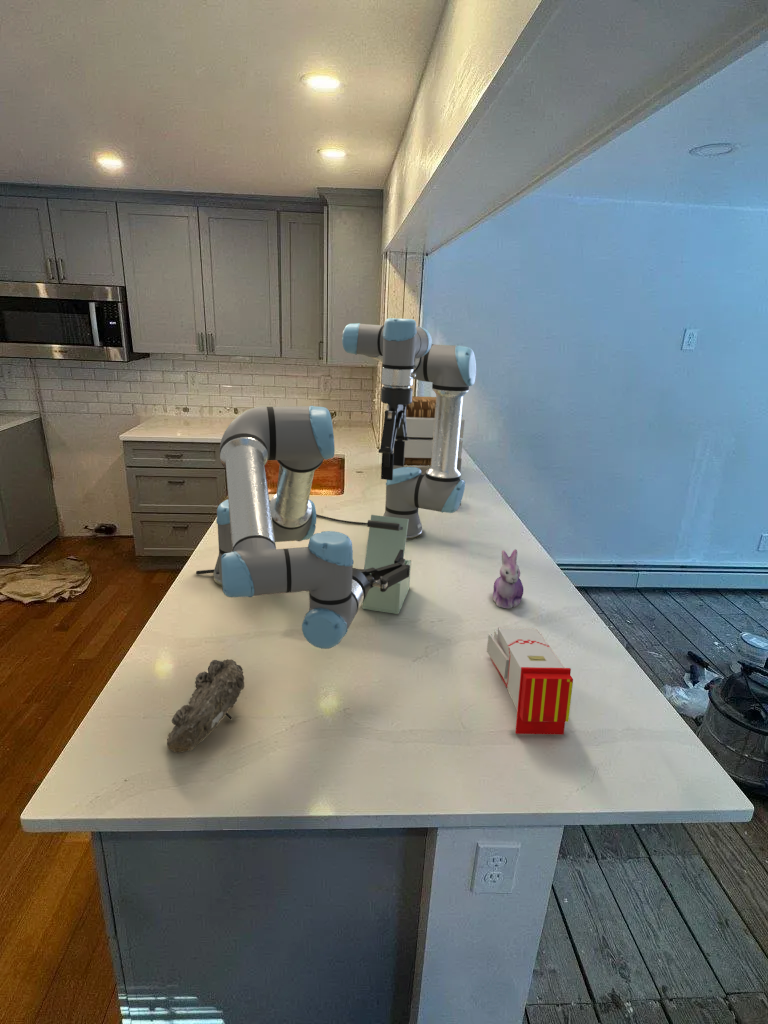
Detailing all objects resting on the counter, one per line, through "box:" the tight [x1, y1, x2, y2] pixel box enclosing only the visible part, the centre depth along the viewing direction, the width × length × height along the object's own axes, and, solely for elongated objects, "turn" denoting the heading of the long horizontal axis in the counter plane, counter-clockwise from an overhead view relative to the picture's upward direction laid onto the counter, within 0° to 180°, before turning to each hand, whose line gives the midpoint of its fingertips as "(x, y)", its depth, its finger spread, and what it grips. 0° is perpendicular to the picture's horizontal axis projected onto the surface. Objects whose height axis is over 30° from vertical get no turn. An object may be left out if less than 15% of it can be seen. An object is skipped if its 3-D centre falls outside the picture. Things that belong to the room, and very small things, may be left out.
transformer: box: [386, 395, 465, 473], centre depth 268 cm, size 34×33×41 cm
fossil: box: [166, 658, 245, 754], centre depth 106 cm, size 22×10×15 cm
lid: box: [363, 514, 409, 582], centre depth 142 cm, size 16×10×8 cm
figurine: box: [492, 548, 524, 609], centre depth 154 cm, size 9×10×15 cm
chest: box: [361, 559, 412, 615], centre depth 154 cm, size 15×10×9 cm, turn 167°
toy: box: [486, 627, 574, 736], centre depth 118 cm, size 12×13×30 cm
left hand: (372, 551), depth 130 cm, fingers open, 13 cm apart
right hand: (392, 472), depth 143 cm, fingers open, 13 cm apart
